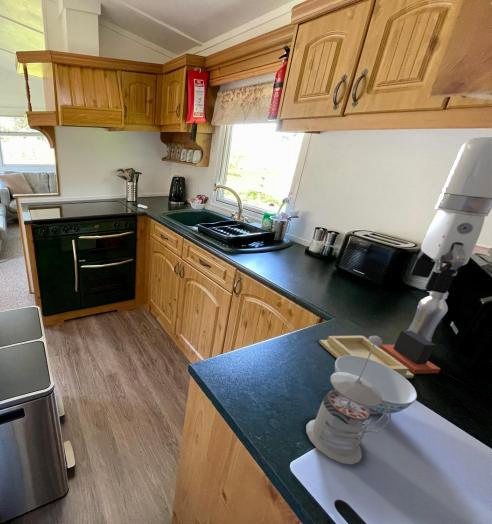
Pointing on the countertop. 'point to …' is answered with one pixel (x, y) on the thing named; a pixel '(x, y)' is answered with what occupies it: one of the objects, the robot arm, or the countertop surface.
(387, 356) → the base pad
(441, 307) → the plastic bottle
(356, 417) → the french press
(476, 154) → the robot arm
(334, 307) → the countertop surface
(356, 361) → the chinaware
